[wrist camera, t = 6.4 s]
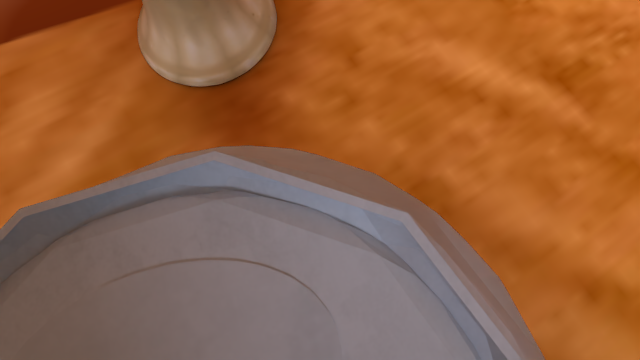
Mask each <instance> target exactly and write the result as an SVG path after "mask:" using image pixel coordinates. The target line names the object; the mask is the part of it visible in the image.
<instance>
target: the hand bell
mask: <svg viewBox="0 0 640 360" xmlns="http://www.w3.org/2000/svg"><path fill="white" fill-rule="evenodd" d="M142 2H143V6H142V9H141V11H140V15H139V19H138V30H137V31H138V42H139V46H140V49H141V52H142V54H143V56H144V58H145V60H146V61H147V63H148V64H149V65H150V66H151V67H152V68H153V69H154V70H155V71H156V72H157V73H158V74H160V75H161V76H163V77H164V78H166V79H168V80H170V81H173V82H175V83H179V84H183V85H189V86H200V87H201V86H210V85H218V84H222V83H224V82H227V81H230V80H232V79H234V78H236V77H238V76H240V75H242V74H244V73H245V72H247V71H248V70H250V69H251V68H252V67H253V66H254V65H255V64H256V63H257V62H258V61H259V60H260V59H261V58H262V57H263V56H264V54H265V53H266V52H267V50H268V48H269V46H270V45H271V42H272V40H273V37H274V35H275V31H276V23H277V14H276V8H275V4H274V1H273V0H142Z"/></svg>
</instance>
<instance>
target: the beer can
mask: <svg viewBox="0 0 640 360" xmlns="http://www.w3.org/2000/svg"><path fill="white" fill-rule="evenodd" d="M0 360H545V358H544V356H543V354H542V352H541V351H540V349H539V347H538V345H537V344H536V342H535V340H534V338H533V336H532V335H531V333H530V331H529V329H528V327H527V326H526V324H525V322H524V320H523V318H522V317H521V315H520V313H519V311H518V309H517V308H516V306H515V304H514V302H513V301H512V299H511V297H510V295H509V293H508V292H507V290H506V288H505V287H504V285H503V283H502V282H501V280H500V278H499V277H498V276H497V275H496V274H495V272H494V271H493V270H492V269H491V268H490V267H489V266H488V265H487V264H486V263H485V261H484V260H483V259H482V258H481V257H480V256H479V255H478V254H477V253H476V251H475V250H474V249H473V248H472V247H471V246H470V245H469V244H468V243H467V241H466V240H465V239H464V238H463V237H462V236H461V235H460V234H459V233H458V232H456V231H455V230H454V229H453V228H452V227H451V226H450V225H449V224H448V223H447V222H446V221H445V220H444V219H443V218H442V217H441V216H440V215H438V214H437V213H436V212H435V211H434V210H432V209H431V208H429V207H428V206H426V205H425V204H423V203H422V202H421V201H419V200H418V199H416V198H415V197H413V196H411V195H410V194H408V193H406V192H405V191H403V190H401V189H400V188H398V187H396V186H395V185H393V184H391V183H390V182H388V181H386V180H385V179H383V178H381V177H380V176H378V175H376V174H374V173H371V172H368V171H365V170H362V169H359V168H356V167H353V166H350V165H347V164H344V163H341V162H338V161H335V160H332V159H329V158H326V157H323V156H320V155H317V154H312V153H308V152H304V151H300V150H295V149H288V148H275V147H262V146H229V147H216V148H211V149H206V150H200V151H195V152H190V153H185V154H179V155H174V156H170V157H167V158H165V159H162V160H160V161H157V162H155V163H153V164H150V165H148V166H145V167H143V168H140V169H138V170H135V171H133V172H130V173H128V174H126V175H123V176H120V177H118V178H115V179H113V180H110V181H107V182H105V183H102V184H100V185H97V186H94V187H91V188H88V189H85V190H81V191H78V192H75V193H71V194H68V195H65V196H61V197H58V198H54V199H51V200H48V201H44V202H41V203H38V204H34V205H31V206H28V207H24V208H21V209H19V210H18V211H17V212H16V213H15V214H14V215H13V216H12V217H11V218H10V219H9V221H8V222H7V223H6V224H5V225H4V226H3V227H2V228H1V229H0Z"/></svg>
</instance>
